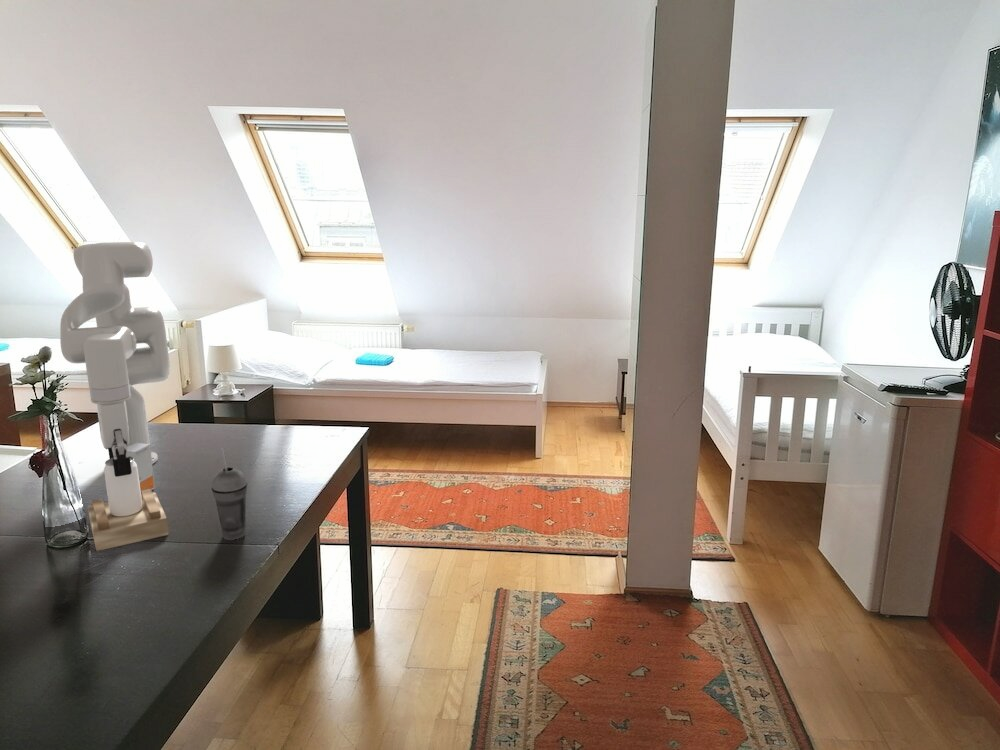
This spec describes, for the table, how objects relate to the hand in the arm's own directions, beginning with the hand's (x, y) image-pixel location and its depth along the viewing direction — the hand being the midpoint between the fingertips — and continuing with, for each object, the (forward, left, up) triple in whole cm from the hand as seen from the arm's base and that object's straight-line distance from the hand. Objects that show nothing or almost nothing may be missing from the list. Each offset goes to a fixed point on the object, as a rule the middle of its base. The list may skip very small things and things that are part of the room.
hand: (120, 467), depth 160 cm
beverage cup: (+17, +19, -15) cm, 29 cm away
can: (+1, 0, -11) cm, 11 cm away
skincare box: (-19, +5, -15) cm, 25 cm away
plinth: (+1, 0, -14) cm, 14 cm away
